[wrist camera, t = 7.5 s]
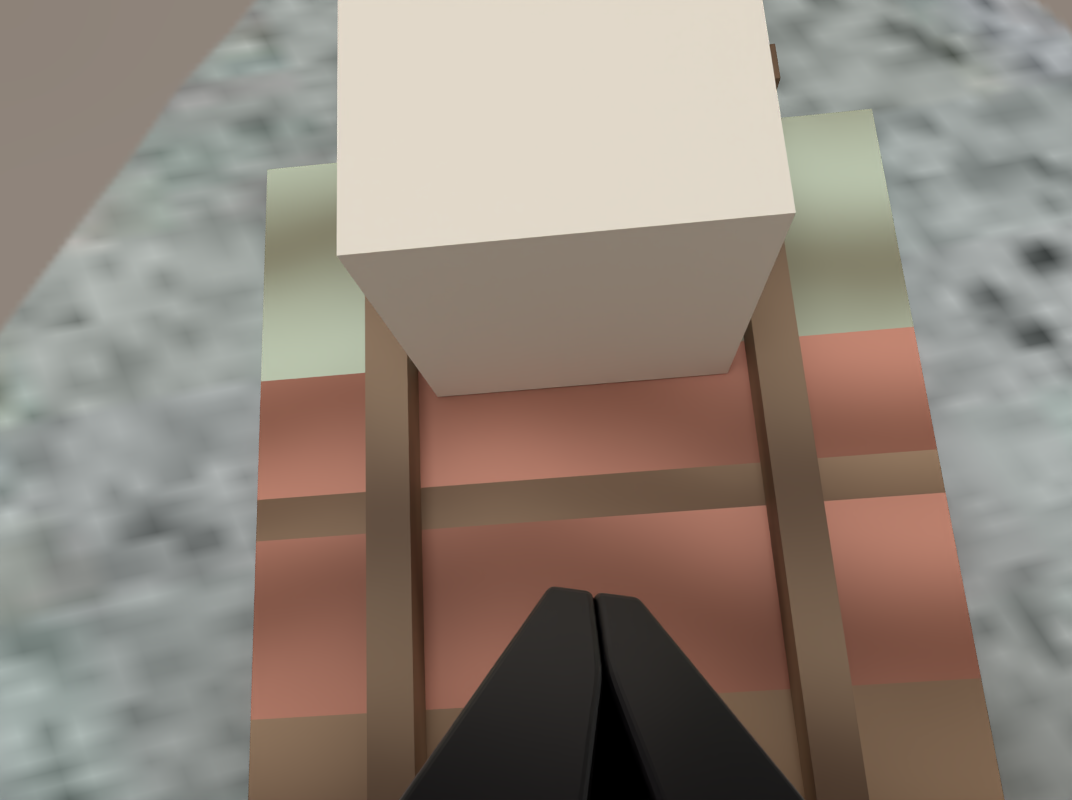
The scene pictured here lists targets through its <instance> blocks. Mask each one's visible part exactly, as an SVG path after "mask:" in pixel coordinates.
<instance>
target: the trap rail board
mask: <svg viewBox="0 0 1072 800" xmlns="http://www.w3.org/2000/svg"><path fill="white" fill-rule="evenodd" d="M769 46H770V52H771V58H772V65H773V71H774V77H775V84H776V90H777V87H778V84H779V81H780V73H779V67H778V60H777V54H776V48H775V44H769ZM781 122H782V128H783V134H784V141H785V147H786V153H787V160H788V166H789V172H790V179H791V185H792V191H793V198H794V204H795V210H796V214H795V216H794V218H793V221H792V223H791V225H790V228H789V230H788V232H787V235H786V237H785V240H784V242H783V244H782V247H781V249H780V251H779V254H778V256H777V258H776V261H775V263H774V265H773V268H772V270H771V272H770V275H769V277H768V279H767V282H766V284H765V286H764V289H763V291H762V293H761V296H760V298H759V301H758V303H757V305H756V308H755V310H754V312H753V315H752V317H751V319H750V322H749V324H748V326H747V329H746V331H745V333H744V336H743V338H742V340H741V343H740V345H739V347H738V350H737V352H736V354H735V357H734V359H733V362H732V364H731V366H730V369H729V371H728V373H725V374H713V375H701V376H689V377H676V378H664V379H652V380H639V381H627V382H615V383H603V384H590V385H578V386H566V387H553V388H541V389H529V390H517V391H504V392H492V393H480V394H468V395H455V396H443V397H437V395H436V394H435V392H434V391H433V390H432V388H431V387H430V385H429V384H428V383H427V381H426V380H425V378H424V377H423V376H422V374H421V373H420V371H419V370H418V369H417V367H416V366H415V364H414V363H413V362H412V360H411V359H410V357H409V356H408V355H407V353H406V352H405V350H404V349H403V348H402V346H401V345H400V344H399V342H398V341H397V339H396V338H395V337H394V335H393V334H392V332H391V331H390V330H389V328H388V327H387V325H386V324H385V323H384V321H383V320H382V318H381V317H380V316H379V314H378V313H377V311H376V310H375V309H374V307H373V306H372V304H371V303H370V302H369V300H368V299H367V297H366V296H365V295H364V293H363V292H362V290H361V289H360V288H359V286H358V285H357V283H356V282H355V281H354V279H353V278H352V276H351V275H350V274H349V272H348V271H347V269H346V268H345V267H344V265H343V264H342V262H341V261H340V260H339V258H338V257H337V163H329V164H319V165H309V166H299V167H290V168H280V169H270V170H267V203H266V236H265V268H264V301H263V334H262V367H261V400H260V432H259V465H258V498H257V531H256V564H255V596H254V629H253V662H252V695H251V728H250V760H249V793H248V800H399V799H400V798H401V796H402V795H403V793H404V792H405V791H406V789H407V788H408V786H409V785H410V783H411V782H412V781H413V779H414V778H415V776H416V775H417V773H418V772H419V771H420V769H421V768H422V766H423V765H424V764H425V762H426V761H427V759H428V758H429V756H430V755H431V754H432V752H433V751H434V749H435V748H436V746H437V745H438V744H439V742H440V741H441V739H442V738H443V737H444V735H445V734H446V732H447V731H448V729H449V728H450V727H451V725H452V724H453V722H454V721H455V719H456V718H457V717H458V715H459V714H460V712H461V711H462V710H463V708H464V707H465V705H466V704H467V702H468V701H469V700H470V698H471V697H472V695H473V694H474V692H475V691H476V690H477V688H478V687H479V685H480V684H481V683H482V681H483V680H484V678H485V677H486V675H487V674H488V673H489V671H490V670H491V668H492V667H493V665H494V664H495V663H496V661H497V660H498V658H499V657H500V656H501V654H502V653H503V651H504V650H505V648H506V647H507V646H508V644H509V643H510V641H511V640H512V638H513V637H514V636H515V634H516V633H517V631H518V630H519V629H520V627H521V626H522V624H523V623H524V621H525V620H526V619H527V617H528V616H529V614H530V613H531V611H532V610H533V609H534V607H535V606H536V604H537V603H538V602H539V600H540V599H541V597H542V596H543V594H544V593H545V592H546V590H548V589H549V588H550V587H553V586H555V587H563V588H571V589H578V590H585V591H588V592H590V593H591V594H592V596H593V598H594V597H595V595H596V594H598V593H608V594H616V595H624V596H632V597H636V598H638V599H639V600H641V601H642V602H643V604H644V605H645V606H646V607H647V608H648V610H649V611H650V612H651V613H652V614H653V616H654V617H655V618H656V619H657V621H658V622H659V623H660V624H661V625H662V627H663V628H664V629H665V630H666V631H667V633H668V634H669V635H670V636H671V638H672V639H673V640H674V641H675V642H676V644H677V645H678V646H679V647H680V648H681V650H682V651H683V652H684V653H685V655H686V656H687V657H688V658H689V659H690V661H691V662H692V663H693V664H694V666H695V667H696V668H697V669H698V670H699V672H700V673H701V674H702V675H703V676H704V678H705V679H706V680H707V681H708V683H709V684H710V685H711V686H712V687H713V689H714V690H715V691H716V692H717V693H718V695H719V696H720V697H721V698H722V700H723V701H724V702H725V703H726V704H727V706H728V707H729V708H730V709H731V710H732V712H733V713H734V714H735V715H736V717H737V718H738V719H739V720H740V721H741V723H742V724H743V725H744V726H745V727H746V729H747V730H748V731H749V732H750V734H751V735H752V736H753V737H754V738H755V740H756V741H757V742H758V743H759V745H760V746H761V747H762V748H763V749H764V751H765V752H766V753H767V754H768V755H769V757H770V758H771V759H772V760H773V762H774V763H775V764H776V765H777V766H778V768H779V769H780V770H781V771H782V772H783V774H784V775H785V776H786V777H787V779H788V780H789V781H790V782H791V783H792V785H793V786H794V787H795V788H796V789H797V791H798V792H799V793H800V794H801V796H802V797H803V798H804V799H805V800H1004V795H1003V790H1002V785H1001V780H1000V774H999V769H998V764H997V759H996V754H995V748H994V743H993V738H992V733H991V728H990V722H989V717H988V712H987V707H986V702H985V696H984V691H983V686H982V681H981V675H980V670H979V665H978V660H977V655H976V649H975V644H974V639H973V634H972V629H971V623H970V618H969V613H968V608H967V603H966V597H965V592H964V587H963V582H962V577H961V571H960V566H959V561H958V556H957V550H956V545H955V540H954V535H953V530H952V524H951V519H950V514H949V509H948V504H947V498H946V493H945V488H944V483H943V478H942V472H941V467H940V462H939V457H938V451H937V446H936V441H935V436H934V431H933V425H932V420H931V415H930V410H929V405H928V399H927V394H926V389H925V384H924V379H923V373H922V368H921V363H920V358H919V353H918V347H917V342H916V337H915V332H914V326H913V321H912V316H911V311H910V306H909V300H908V295H907V290H906V285H905V280H904V274H903V269H902V264H901V259H900V254H899V248H898V243H897V238H896V233H895V228H894V222H893V217H892V212H891V207H890V201H889V196H888V191H887V186H886V181H885V175H884V170H883V165H882V160H881V155H880V149H879V144H878V139H877V134H876V129H875V123H874V118H873V113H872V109H866V110H856V111H846V112H836V113H826V114H816V115H806V116H797V117H787V118H781Z"/></svg>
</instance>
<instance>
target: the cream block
mask: <svg viewBox="0 0 1072 800" xmlns="http://www.w3.org/2000/svg"><path fill="white" fill-rule="evenodd" d="M795 214H796V210H795V204H794V198H793V191H792V185H791V179H790V172H789V166H788V160H787V153H786V147H785V141H784V134H783V128H782V122H781V115H780V109H779V103H778V96H777V90H776V84H775V77H774V71H773V65H772V58H771V52H770V46H769V39H768V33H767V27H766V20H765V14H764V8H763V1H762V0H338V86H337V257H338V258H339V260H340V261H341V262H342V264H343V265H344V267H345V268H346V269H347V271H348V272H349V274H350V275H351V276H352V278H353V279H354V281H355V282H356V283H357V285H358V286H359V288H360V289H361V290H362V292H363V293H364V295H365V296H366V297H367V299H368V300H369V302H370V303H371V304H372V306H373V307H374V309H375V310H376V311H377V313H378V314H379V316H380V317H381V318H382V320H383V321H384V323H385V324H386V325H387V327H388V328H389V330H390V331H391V332H392V334H393V335H394V337H395V338H396V339H397V341H398V342H399V344H400V345H401V346H402V348H403V349H404V350H405V352H406V353H407V355H408V356H409V357H410V359H411V360H412V362H413V363H414V364H415V366H416V367H417V369H418V370H419V371H420V373H421V374H422V376H423V377H424V378H425V380H426V381H427V383H428V384H429V385H430V387H431V388H432V390H433V391H434V392H435V394H436V395H437V397H443V396H455V395H468V394H480V393H492V392H504V391H517V390H529V389H541V388H553V387H566V386H578V385H590V384H603V383H615V382H627V381H639V380H652V379H664V378H676V377H689V376H701V375H713V374H725V373H728V371H729V369H730V366H731V364H732V362H733V359H734V357H735V354H736V352H737V350H738V347H739V345H740V343H741V340H742V338H743V336H744V333H745V331H746V329H747V326H748V324H749V322H750V319H751V317H752V315H753V312H754V310H755V308H756V305H757V303H758V301H759V298H760V296H761V293H762V291H763V289H764V286H765V284H766V282H767V279H768V277H769V275H770V272H771V270H772V268H773V265H774V263H775V261H776V258H777V256H778V254H779V251H780V249H781V247H782V244H783V242H784V240H785V237H786V235H787V232H788V230H789V228H790V225H791V223H792V221H793V218H794V216H795Z"/></svg>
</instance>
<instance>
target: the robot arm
mask: <svg viewBox="0 0 1072 800" xmlns="http://www.w3.org/2000/svg"><path fill="white" fill-rule="evenodd" d="M399 800H805V799H804V798H803V797H802V796H801V794H800V793H799V792H798V791H797V789H796V788H795V787H794V786H793V785H792V783H791V782H790V781H789V780H788V779H787V777H786V776H785V775H784V774H783V772H782V771H781V770H780V769H779V768H778V766H777V765H776V764H775V763H774V762H773V760H772V759H771V758H770V757H769V755H768V754H767V753H766V752H765V751H764V749H763V748H762V747H761V746H760V745H759V743H758V742H757V741H756V740H755V738H754V737H753V736H752V735H751V734H750V732H749V731H748V730H747V729H746V727H745V726H744V725H743V724H742V723H741V721H740V720H739V719H738V718H737V717H736V715H735V714H734V713H733V712H732V710H731V709H730V708H729V707H728V706H727V704H726V703H725V702H724V701H723V700H722V698H721V697H720V696H719V695H718V693H717V692H716V691H715V690H714V689H713V687H712V686H711V685H710V684H709V683H708V681H707V680H706V679H705V678H704V676H703V675H702V674H701V673H700V672H699V670H698V669H697V668H696V667H695V666H694V664H693V663H692V662H691V661H690V659H689V658H688V657H687V656H686V655H685V653H684V652H683V651H682V650H681V648H680V647H679V646H678V645H677V644H676V642H675V641H674V640H673V639H672V638H671V636H670V635H669V634H668V633H667V631H666V630H665V629H664V628H663V627H662V625H661V624H660V623H659V622H658V621H657V619H656V618H655V617H654V616H653V614H652V613H651V612H650V611H649V610H648V608H647V607H646V606H645V605H644V604H643V602H642V601H641V600H639V599H638V598H636V597H632V596H624V595H616V594H608V593H598V594H596V595H595V597H594V598H593V596H592V594H591V593H590V592H588V591H585V590H578V589H571V588H563V587H555V586H553V587H550V588H549V589H548V590H546V592H545V593H544V594H543V596H542V597H541V599H540V600H539V602H538V603H537V604H536V606H535V607H534V609H533V610H532V611H531V613H530V614H529V616H528V617H527V619H526V620H525V621H524V623H523V624H522V626H521V627H520V629H519V630H518V631H517V633H516V634H515V636H514V637H513V638H512V640H511V641H510V643H509V644H508V646H507V647H506V648H505V650H504V651H503V653H502V654H501V656H500V657H499V658H498V660H497V661H496V663H495V664H494V665H493V667H492V668H491V670H490V671H489V673H488V674H487V675H486V677H485V678H484V680H483V681H482V683H481V684H480V685H479V687H478V688H477V690H476V691H475V692H474V694H473V695H472V697H471V698H470V700H469V701H468V702H467V704H466V705H465V707H464V708H463V710H462V711H461V712H460V714H459V715H458V717H457V718H456V719H455V721H454V722H453V724H452V725H451V727H450V728H449V729H448V731H447V732H446V734H445V735H444V737H443V738H442V739H441V741H440V742H439V744H438V745H437V746H436V748H435V749H434V751H433V752H432V754H431V755H430V756H429V758H428V759H427V761H426V762H425V764H424V765H423V766H422V768H421V769H420V771H419V772H418V773H417V775H416V776H415V778H414V779H413V781H412V782H411V783H410V785H409V786H408V788H407V789H406V791H405V792H404V793H403V795H402V796H401V798H400V799H399Z"/></svg>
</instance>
